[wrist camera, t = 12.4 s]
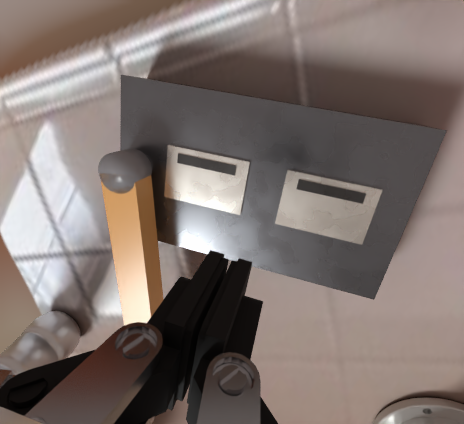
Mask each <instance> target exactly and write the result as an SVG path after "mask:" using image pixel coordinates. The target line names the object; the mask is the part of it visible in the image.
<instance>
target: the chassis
mask: <svg viewBox="0 0 464 424" xmlns="http://www.w3.org/2000/svg"><path fill="white" fill-rule="evenodd" d="M446 131H447V130H442V129H437V128H432V127H427V126H421V125H415V124H409V123H403V122H398V121H392V120H386V119H380V118H374V117H368V116H362V115H357V114H351V113H345V112H339V111H333V110H327V109H322V108H316V107H310V106H304V105H298V104H292V103H286V102H281V101H275V100H269V99H263V98H257V97H251V96H245V95H240V94H234V93H228V92H222V91H216V90H210V89H205V88H199V87H193V86H187V85H181V84H175V83H169V82H164V81H158V80H152V79H146V78H139V77H133V76H126V75H121V150H120V151H122V150H126V149H130V148H133V149H137V150H140V151H141V152H143V153H144V154H145V155H146V156H147V158H148V159H149V161H150V163H151V167H152V174H151V178H152V188H153V198H154V209H155V219H156V229H157V240H158V241H161V242H164V243H168V244H172V245H175V246H179V247H183V248H187V249H190V250H194V251H198V252H201V253H205V254H208V253H209V251H210V250H212V251H215V252H219V253H222V254H224V258H226V259H228V260H231V261H232V260H233V261H237V260H238V258H240V259H244V260H247V261H251V262H252V266H253V267H256V268H260V269H264V270H267V271H271V272H275V273H278V274H282V275H286V276H289V277H293V278H297V279H300V280H304V281H308V282H311V283H315V284H319V285H322V286H326V287H330V288H333V289H337V290H341V291H344V292H348V293H352V294H355V295H359V296H363V297H366V298H370V299H375V296H376V294H377V292H378V289H379V287H380V285H381V282H382V280H383V278H384V275H385V273H386V271H387V268H388V266H389V264H390V261H391V259H392V257H393V254H394V252H395V250H396V247H397V245H398V243H399V241H400V238H401V236H402V234H403V231H404V229H405V227H406V224H407V222H408V220H409V217H410V215H411V213H412V210H413V208H414V206H415V203H416V201H417V199H418V196H419V194H420V192H421V189H422V187H423V185H424V182H425V180H426V178H427V175H428V173H429V171H430V168H431V166H432V164H433V161H434V159H435V157H436V154H437V152H438V150H439V147H440V145H441V143H442V141H443V138H444V136H445V134H446Z"/></svg>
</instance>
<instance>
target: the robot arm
mask: <svg viewBox="0 0 464 424" xmlns="http://www.w3.org/2000/svg"><path fill="white" fill-rule="evenodd" d="M227 265H228V259H226V258H224V254H222V253H219V252H215V251H212V250H210V251H209V253H208V255H207V256H206V258H205V259H204V261H203V262H202V264H201V265H200V267H199V268H198V270H197V272H196V273H195V275H194V276H193V278H192V279H191V280H190V279H187V278H184V277H180V278H179V279H178V280H177V282H176V283H175V285H174V286H173V287H172V289H171V290H170V292H169V293H168V294H167V296H166V297H165V299H164V300H163V301H162V303H161V304H160V305H159V307H158V308H157V310H156V311H155V312H154V314H153V315H152V317H151V318H150V319H149V321H148V322H147V323H143V322H136V323H130V324H127V325H125V326H122V327H121V328H120V329H118V330H117V331H116V332H114V333H113V334H112V335H111V336H110V337H109V338H108V339H107V340H106V341H105V342H104V343H103V344H101V345H100V346H99V347H98V348H97V349H96V350H93V351H90V352H86V353H83V354H80V355H76V356H73V357H70V358H66V359H63V360H59V361H56V362H53V363H49V364H46V365H43V366H39V367H36V368H33V369H29V370H27V371H24V372H22V373H19V374H17V375H13V374H12V370H3V369H0V424H152V423H153V421H154V418H155V416H157V415H159V414H161V413H163V412H166V410H167V409H170V410H172V409H173V407H174V405H175V403H176V400H180V401H183V399H184V397H185V394H186V392H187V389H188V387H189V385H190V387H189V393H188V399H187V403H188V404H189V405H188V411H187V417H186V420H187V422H188V424H278V423H277V421H276V420H275V418H274V417H273V415H272V413H271V412H270V410H269V409H268V407H267V406H266V404H265V403H264V401H263V400H262V398H261V397H260V375H259V372H258V370H257V368H256V366H255V365H254V364H253V362H252V361H251V360H250V358H251V354H252V349H253V345H254V340H255V336H256V331H257V327H258V322H259V317H260V313H261V308H262V304H263V301H260V300H257V299H253V298H250V297H247V296H245V292H246V287H247V283H248V279H249V275H250V270H251V266H252V262H251V261H247V260H244V259H240V258H238V260H237V261H233V260H232V262H231V264H230V266H229V268H228V270H227ZM226 270H227V272H226ZM373 424H464V404H461V403H458V402H454V401H451V400H446V399H440V398H426V397H425V398H412V399H408V400H403V401H400V402H397V403H394V404H392V405H390V406H389V407H387V408H385V409H384V410H383V411H382V412H381V413H380V414H378V416H377V417H376V419H375V420H374V423H373Z"/></svg>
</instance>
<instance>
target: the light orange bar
mask: <svg viewBox="0 0 464 424" xmlns="http://www.w3.org/2000/svg"><path fill="white" fill-rule="evenodd" d="M98 171H99V176H100V179H101V184H102V190H103V196H104V202H105V209H106V215H107V221H108V227H109V233H110V240H111V246H112V252H113V258H114V265H115V271H116V277H117V283H118V290H119V296H120V302H121V308H122V315H123V321H124V326H125V325H127V324H130V323H136V322H143V323H147V322H148V321H149V319H150V318H151V317H152V315H153V314H154V312H155V311H156V310H157V308H158V307H159V305H160V304H161V303H162V301H163V291H162V281H161V271H160V260H159V250H158V240H157V229H156V219H155V209H154V198H153V188H152V178H151V174H152V167H151V163H150V161H149V159H148V158H147V156H146V155H145V154H144V153H143V152H141V151H140V150H137V149H133V148H130V149H126V150H122V151H118V152H114V153H110V154H107V155H105V156H104V157H103V158H102V159H101V161H100V163H99V167H98Z"/></svg>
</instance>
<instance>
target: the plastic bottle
mask: <svg viewBox="0 0 464 424" xmlns="http://www.w3.org/2000/svg"><path fill="white" fill-rule="evenodd" d="M79 339H80V329H79V327H78V325H77V323H76V322H75V321H74V320H73V319H72V318H71V317H70V316H69V315H67V314H66V313H63V312H60V311H52V312H47V313H45V314H43V315H41V316H40V317H38V318H36V319H35V320H34V321H33V322H32V323H31V324H30V325H29V326H28V327H27V328H26V329H25V330H24V332H23V333H22V334H21V336H19V337H18V338H17V339H16V340H15V341H14V342H13V343H12V344H11V345H10V346H9V347H8V348H7V349H6V350H5V351H4V352H2V354H0V369H3V370H12V374H13V375H17V374H19V373H22V372H24V371H27V370H29V369H33V368H36V367H39V366H43V365H46V364H49V363H53V362H56V361H59V360H63V359H65V358H67V357H68V356H69V355H70V354H71V353H72V352H73V351H74V349H75V348H76V346H77V345H78V343H79Z"/></svg>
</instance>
